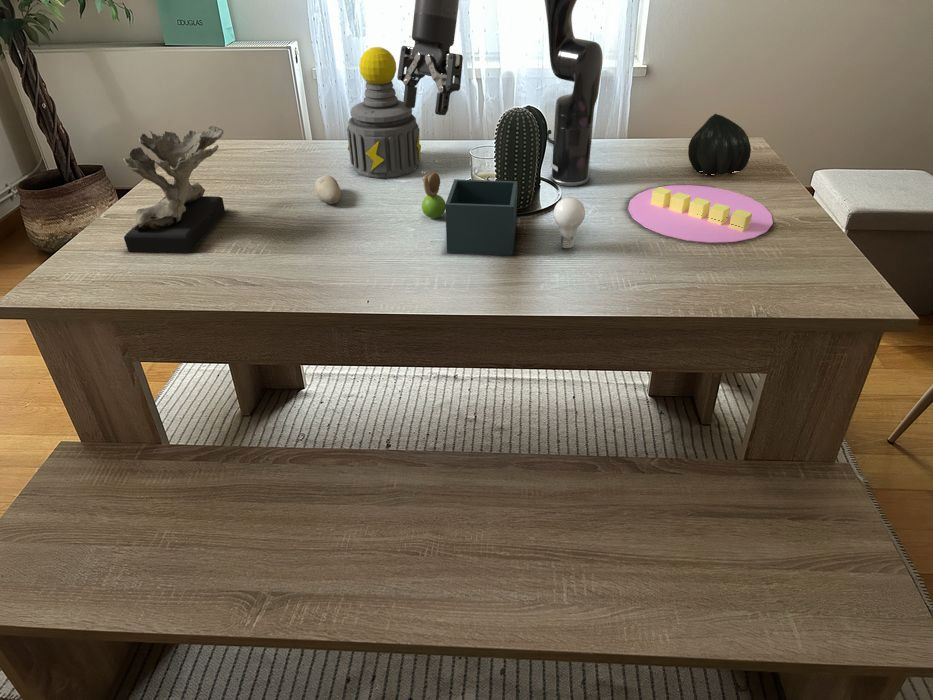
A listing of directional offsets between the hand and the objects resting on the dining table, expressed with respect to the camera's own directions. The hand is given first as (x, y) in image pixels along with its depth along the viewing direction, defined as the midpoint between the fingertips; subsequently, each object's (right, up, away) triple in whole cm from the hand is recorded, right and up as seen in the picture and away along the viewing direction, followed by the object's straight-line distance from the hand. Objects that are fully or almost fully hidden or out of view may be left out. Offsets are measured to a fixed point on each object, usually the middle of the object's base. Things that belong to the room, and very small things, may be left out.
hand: (424, 111), depth 128 cm
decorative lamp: (-14, +5, +59) cm, 61 cm away
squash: (+72, +2, +53) cm, 89 cm away
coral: (-53, -17, +29) cm, 63 cm away
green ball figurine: (0, -14, +32) cm, 35 cm away
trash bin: (+11, -20, +22) cm, 32 cm away
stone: (-26, -7, +42) cm, 50 cm away
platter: (+61, -12, +33) cm, 70 cm away
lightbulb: (+29, -23, +19) cm, 41 cm away
